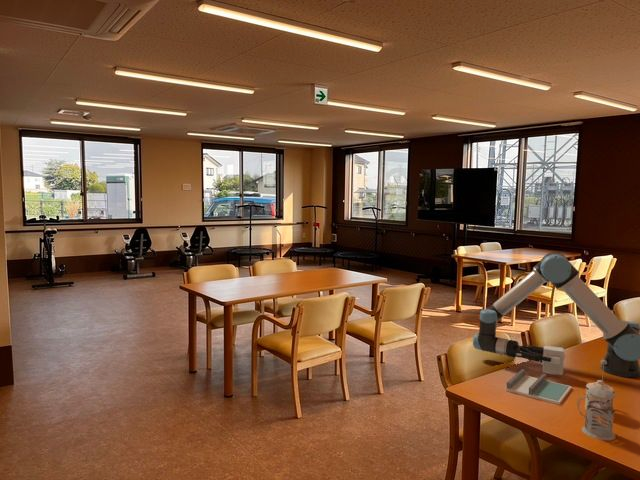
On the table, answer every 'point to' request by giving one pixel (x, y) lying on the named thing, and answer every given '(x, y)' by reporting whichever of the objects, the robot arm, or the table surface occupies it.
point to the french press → (591, 425)
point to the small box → (553, 367)
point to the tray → (537, 388)
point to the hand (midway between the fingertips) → (561, 358)
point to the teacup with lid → (609, 401)
